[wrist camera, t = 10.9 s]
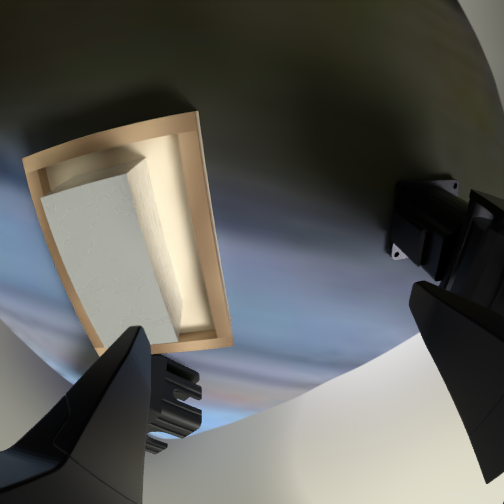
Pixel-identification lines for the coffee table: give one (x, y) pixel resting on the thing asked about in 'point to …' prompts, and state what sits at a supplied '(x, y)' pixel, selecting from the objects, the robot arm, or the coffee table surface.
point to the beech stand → (170, 211)
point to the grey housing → (116, 251)
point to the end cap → (171, 401)
